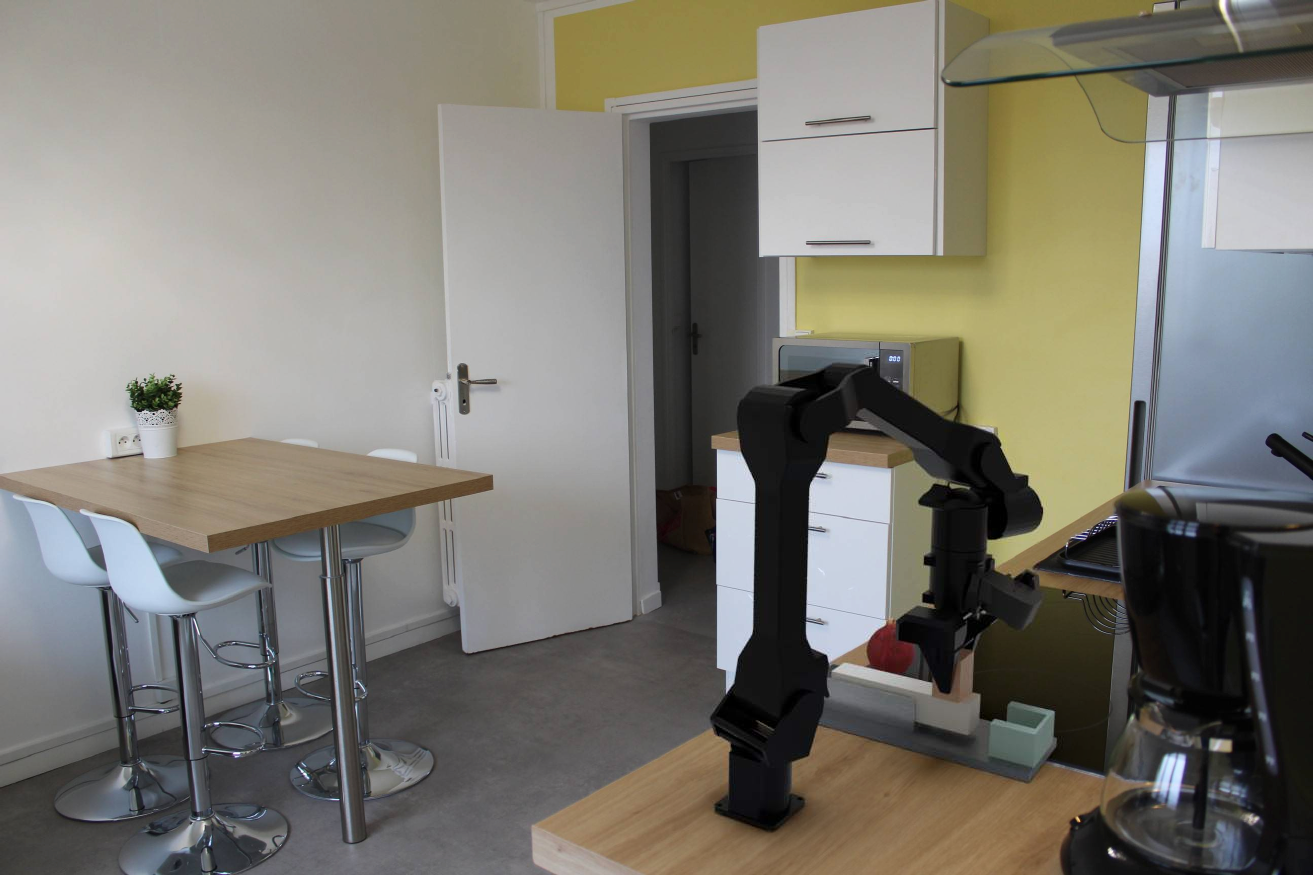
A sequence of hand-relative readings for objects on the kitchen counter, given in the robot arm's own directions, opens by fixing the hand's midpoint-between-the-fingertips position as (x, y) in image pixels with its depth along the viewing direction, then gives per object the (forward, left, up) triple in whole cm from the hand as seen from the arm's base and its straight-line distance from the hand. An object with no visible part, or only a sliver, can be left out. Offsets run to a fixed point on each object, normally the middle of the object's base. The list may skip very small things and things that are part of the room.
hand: (952, 686), depth 109 cm
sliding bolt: (0, +5, -4) cm, 7 cm away
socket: (0, -8, -6) cm, 10 cm away
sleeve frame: (0, +3, -6) cm, 7 cm away
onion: (+12, +12, -6) cm, 18 cm away
